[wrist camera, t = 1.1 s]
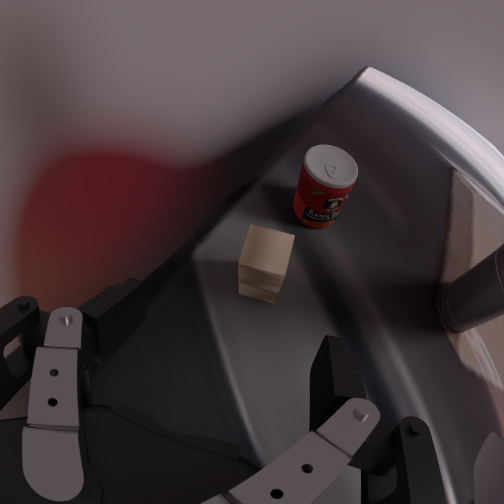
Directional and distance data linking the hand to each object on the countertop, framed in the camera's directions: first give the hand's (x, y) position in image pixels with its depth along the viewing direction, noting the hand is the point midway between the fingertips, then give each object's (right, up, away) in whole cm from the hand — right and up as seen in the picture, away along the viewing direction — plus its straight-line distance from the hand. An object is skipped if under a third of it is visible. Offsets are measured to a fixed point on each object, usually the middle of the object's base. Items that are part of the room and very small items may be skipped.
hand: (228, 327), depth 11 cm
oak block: (+2, -1, +27) cm, 27 cm away
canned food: (+11, +10, +33) cm, 36 cm away
